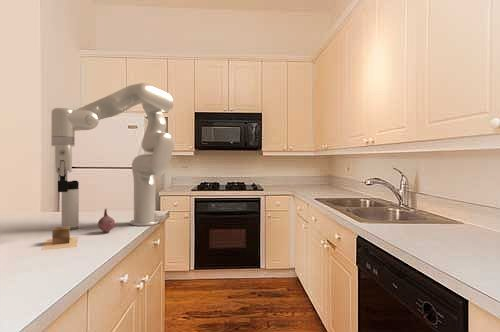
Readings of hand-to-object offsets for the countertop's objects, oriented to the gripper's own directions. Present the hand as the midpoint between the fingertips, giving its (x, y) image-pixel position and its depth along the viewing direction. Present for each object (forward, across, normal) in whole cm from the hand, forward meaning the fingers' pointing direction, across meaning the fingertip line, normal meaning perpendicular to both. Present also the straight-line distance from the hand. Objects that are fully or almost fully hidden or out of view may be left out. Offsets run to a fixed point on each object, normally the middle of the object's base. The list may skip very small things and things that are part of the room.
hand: (62, 191), depth 124 cm
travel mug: (+17, +17, -2) cm, 24 cm away
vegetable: (+17, +2, -15) cm, 23 cm away
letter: (+17, -10, 0) cm, 20 cm away
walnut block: (+17, -9, 0) cm, 19 cm away
